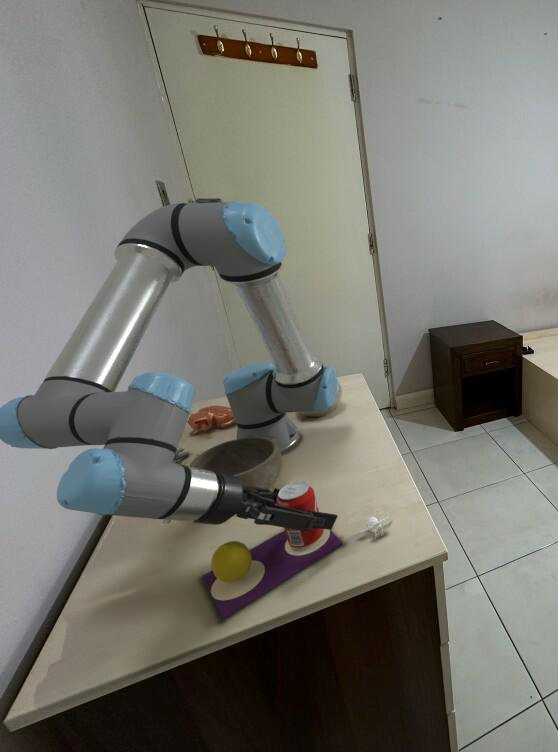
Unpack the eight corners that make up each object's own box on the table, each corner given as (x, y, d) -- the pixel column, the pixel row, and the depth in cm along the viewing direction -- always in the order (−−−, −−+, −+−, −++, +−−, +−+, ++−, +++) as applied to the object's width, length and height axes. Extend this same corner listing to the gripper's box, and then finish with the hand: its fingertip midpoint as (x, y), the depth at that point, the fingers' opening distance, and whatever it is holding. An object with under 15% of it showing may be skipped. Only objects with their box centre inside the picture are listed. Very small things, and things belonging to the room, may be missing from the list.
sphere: (288, 412, 129) (305, 428, 119) (277, 372, 123) (294, 385, 114) (333, 397, 139) (353, 411, 129) (325, 359, 133) (345, 370, 123)
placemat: (203, 578, 71) (202, 575, 71) (315, 516, 85) (314, 513, 85) (223, 619, 64) (222, 617, 63) (342, 544, 77) (341, 541, 77)
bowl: (278, 507, 88) (267, 469, 84) (185, 525, 83) (168, 487, 79) (294, 463, 103) (285, 429, 99) (216, 476, 98) (203, 442, 95)
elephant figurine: (207, 454, 108) (183, 462, 99) (193, 471, 108) (167, 481, 99) (176, 431, 107) (149, 438, 98) (161, 449, 107) (133, 457, 98)
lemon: (231, 566, 72) (217, 533, 69) (262, 564, 73) (250, 530, 70) (212, 594, 67) (197, 559, 64) (246, 591, 68) (233, 556, 64)
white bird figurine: (387, 512, 84) (387, 499, 82) (397, 529, 82) (398, 516, 79) (349, 531, 79) (349, 519, 77) (360, 550, 77) (359, 538, 74)
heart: (185, 406, 121) (184, 426, 110) (233, 397, 128) (236, 416, 117) (190, 423, 123) (189, 445, 112) (236, 414, 130) (240, 434, 119)
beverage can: (331, 531, 80) (319, 482, 75) (307, 555, 74) (292, 504, 70) (307, 524, 82) (293, 476, 77) (281, 547, 76) (265, 497, 72)
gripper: (159, 497, 65) (279, 513, 83) (223, 549, 54) (344, 554, 73) (186, 453, 67) (297, 478, 86) (252, 495, 57) (363, 514, 75)
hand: (319, 513), depth 79 cm, fingers open, 8 cm apart
